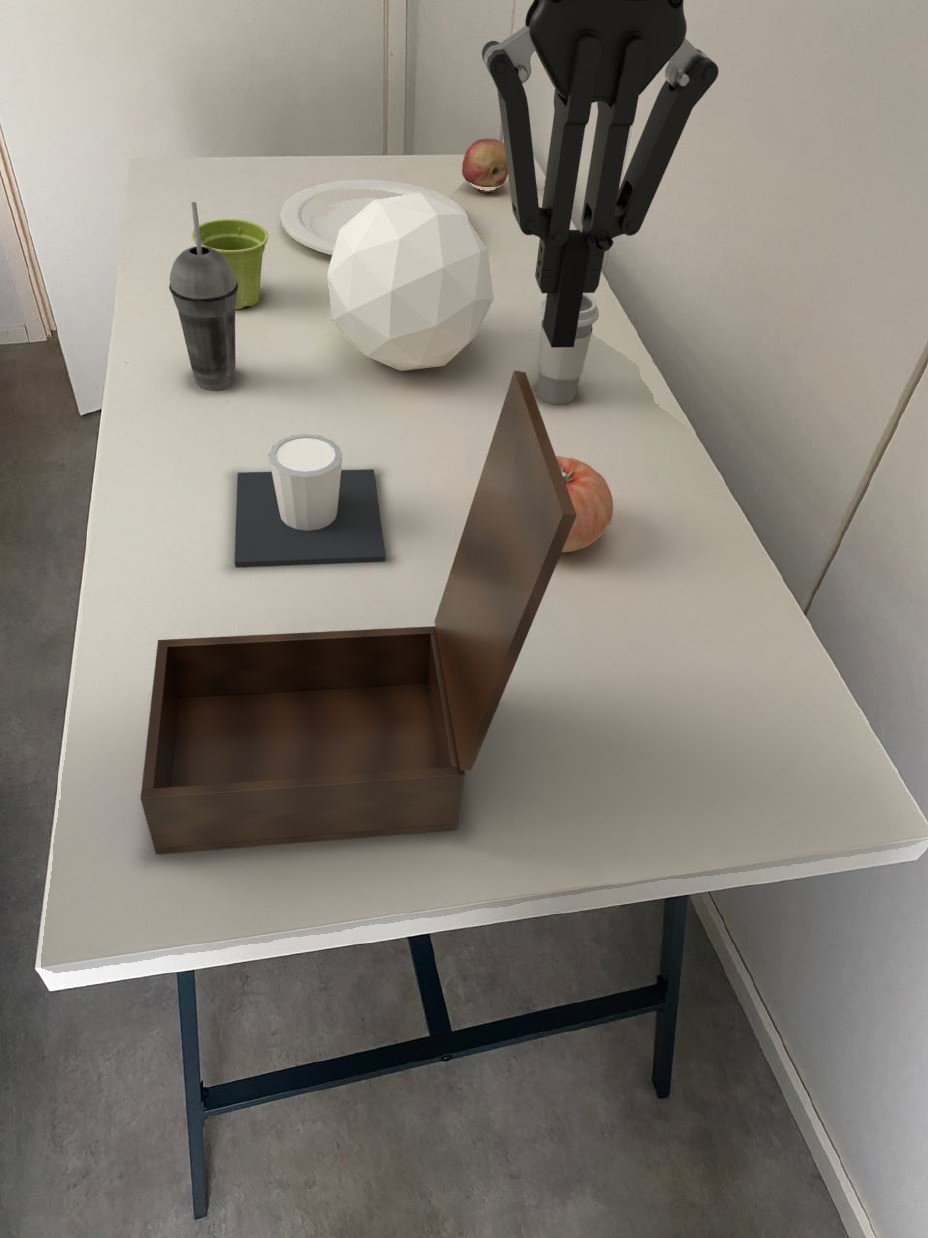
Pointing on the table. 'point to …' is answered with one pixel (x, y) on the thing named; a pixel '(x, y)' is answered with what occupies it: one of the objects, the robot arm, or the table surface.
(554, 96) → the robot arm
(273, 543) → the drying mat
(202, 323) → the beverage cup
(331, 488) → the white grey-rimmed cylinder
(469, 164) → the fruit
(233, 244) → the plant pot
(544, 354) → the cup
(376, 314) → the ball
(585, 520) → the tomato
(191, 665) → the chest
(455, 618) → the chest lid
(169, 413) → the table surface
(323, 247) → the plate
